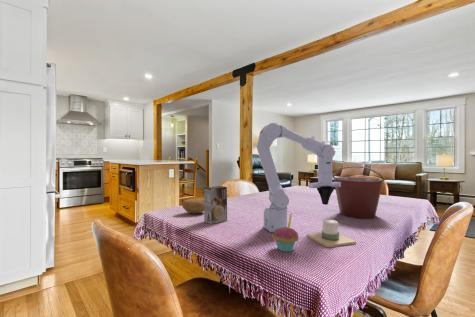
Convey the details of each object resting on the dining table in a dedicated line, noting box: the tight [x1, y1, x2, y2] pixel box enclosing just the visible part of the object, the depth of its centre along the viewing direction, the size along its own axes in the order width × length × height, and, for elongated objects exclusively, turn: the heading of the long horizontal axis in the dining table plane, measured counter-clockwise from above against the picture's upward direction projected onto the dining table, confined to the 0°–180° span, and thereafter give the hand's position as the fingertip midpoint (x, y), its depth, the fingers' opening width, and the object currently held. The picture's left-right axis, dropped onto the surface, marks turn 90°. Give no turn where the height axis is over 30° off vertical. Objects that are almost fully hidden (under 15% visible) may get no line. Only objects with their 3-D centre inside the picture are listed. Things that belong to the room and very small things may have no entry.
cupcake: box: [271, 213, 299, 253], centre depth 82 cm, size 9×8×12 cm
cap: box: [322, 219, 339, 235], centre depth 91 cm, size 5×5×4 cm
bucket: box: [332, 165, 386, 220], centre depth 128 cm, size 24×22×25 cm
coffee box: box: [203, 185, 228, 225], centre depth 116 cm, size 9×6×16 cm
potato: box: [181, 197, 204, 215], centre depth 131 cm, size 10×14×8 cm
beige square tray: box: [306, 230, 357, 249], centre depth 91 cm, size 12×12×6 cm
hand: (325, 204), depth 106 cm, fingers closed
